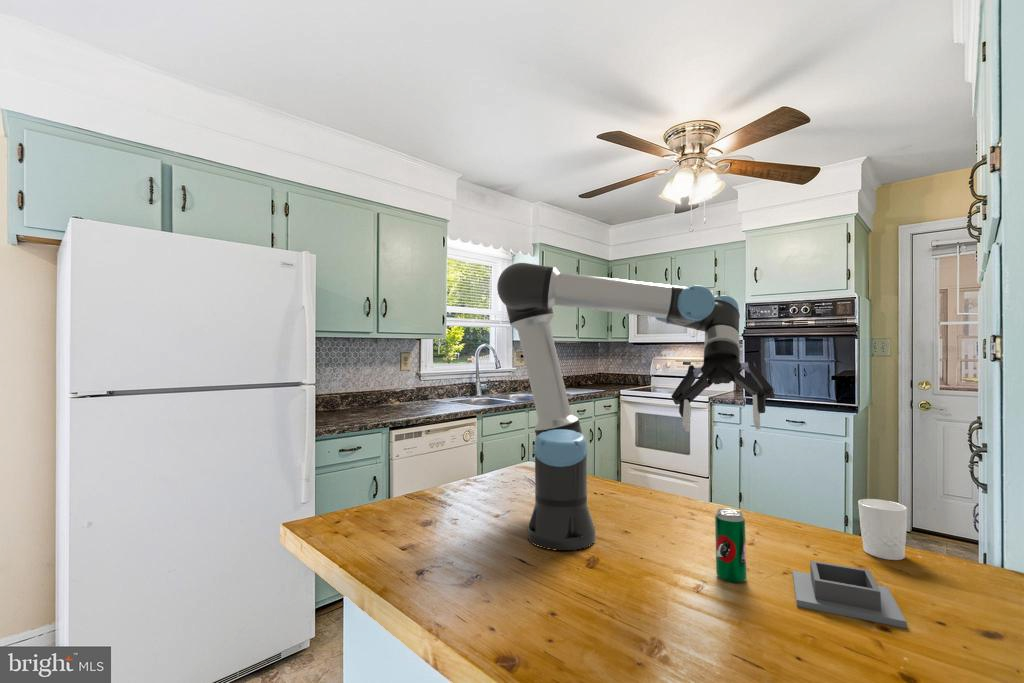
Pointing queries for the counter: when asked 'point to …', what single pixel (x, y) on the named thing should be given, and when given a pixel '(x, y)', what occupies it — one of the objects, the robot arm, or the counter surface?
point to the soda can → (730, 545)
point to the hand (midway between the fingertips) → (720, 427)
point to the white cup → (883, 528)
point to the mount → (846, 593)
